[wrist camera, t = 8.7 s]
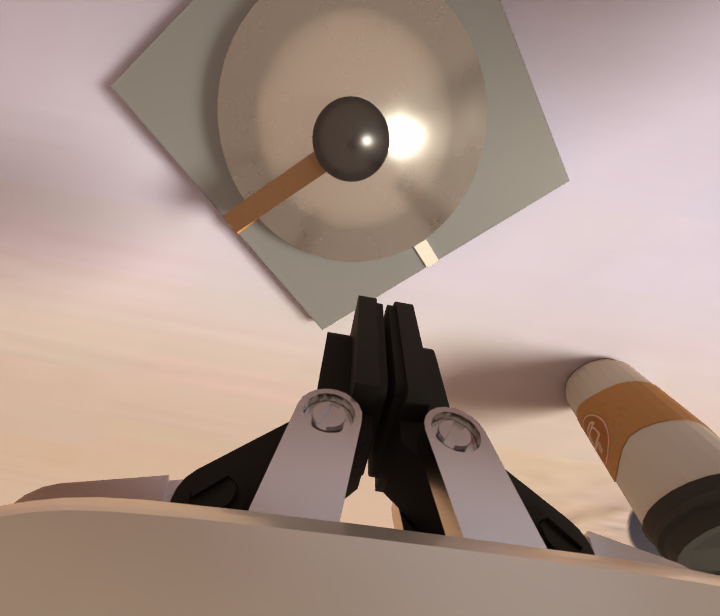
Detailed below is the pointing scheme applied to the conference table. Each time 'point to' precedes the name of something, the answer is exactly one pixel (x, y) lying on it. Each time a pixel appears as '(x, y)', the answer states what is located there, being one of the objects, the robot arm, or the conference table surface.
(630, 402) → the coffee cup
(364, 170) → the dial
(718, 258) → the conference table surface
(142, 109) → the dial plate
